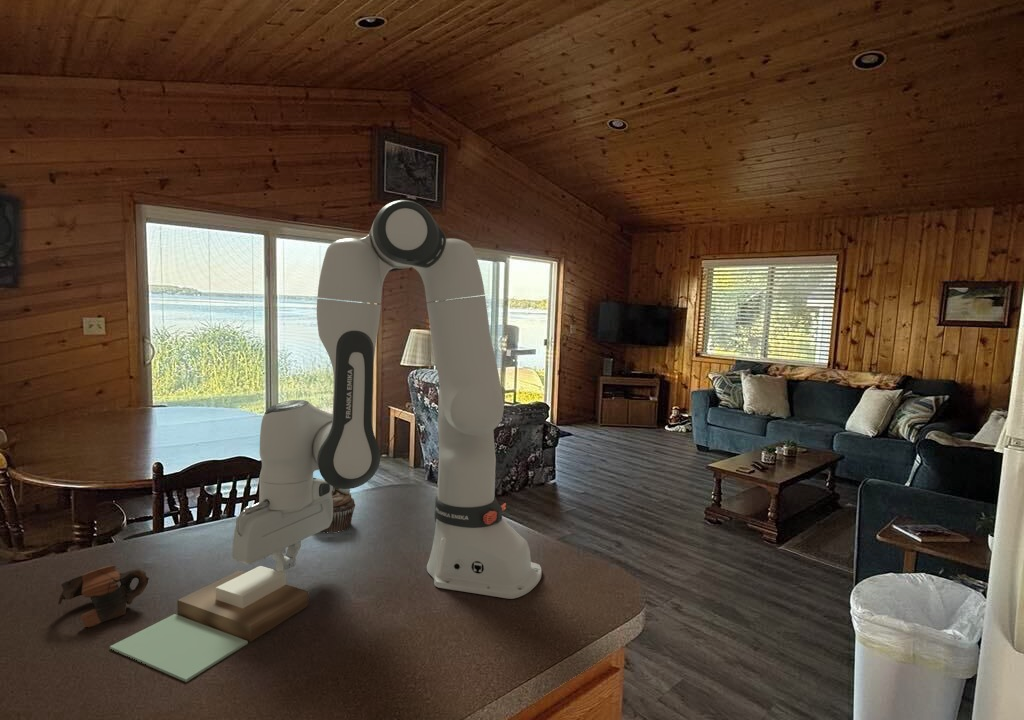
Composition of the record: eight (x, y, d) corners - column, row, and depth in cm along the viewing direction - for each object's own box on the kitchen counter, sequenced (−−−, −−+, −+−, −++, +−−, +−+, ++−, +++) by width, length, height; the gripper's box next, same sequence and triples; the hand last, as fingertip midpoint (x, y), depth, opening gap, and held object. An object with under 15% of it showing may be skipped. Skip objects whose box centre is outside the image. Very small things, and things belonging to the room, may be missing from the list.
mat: (247, 643, 86) (247, 641, 86) (186, 682, 77) (186, 679, 77) (174, 616, 93) (174, 613, 93) (109, 649, 84) (109, 646, 84)
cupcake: (303, 524, 132) (303, 482, 132) (342, 515, 139) (343, 474, 138) (321, 538, 126) (322, 493, 125) (362, 528, 132) (363, 485, 131)
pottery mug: (60, 640, 86) (47, 586, 88) (76, 636, 94) (63, 587, 96) (152, 601, 92) (138, 552, 94) (159, 601, 100) (146, 555, 102)
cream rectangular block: (260, 576, 102) (260, 565, 102) (286, 584, 100) (286, 573, 99) (215, 599, 94) (215, 587, 94) (242, 608, 91) (242, 596, 91)
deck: (308, 605, 98) (308, 591, 98) (250, 642, 87) (250, 626, 87) (239, 583, 104) (239, 570, 104) (177, 614, 93) (177, 600, 93)
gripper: (251, 514, 91) (251, 598, 93) (339, 480, 110) (338, 551, 111) (222, 507, 94) (223, 588, 95) (313, 475, 113) (312, 544, 114)
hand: (285, 568), depth 104 cm, fingers closed
